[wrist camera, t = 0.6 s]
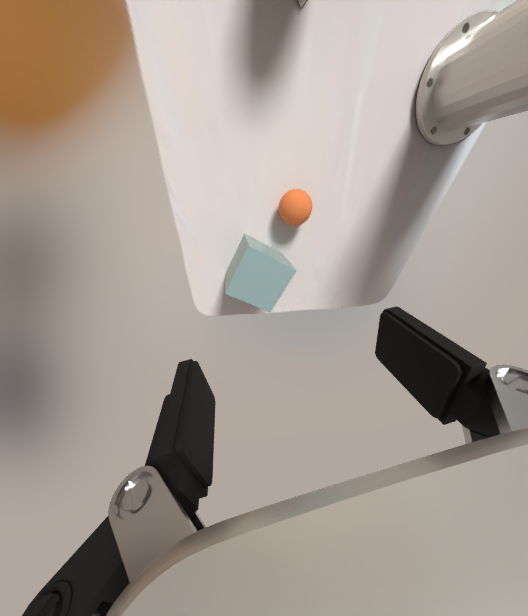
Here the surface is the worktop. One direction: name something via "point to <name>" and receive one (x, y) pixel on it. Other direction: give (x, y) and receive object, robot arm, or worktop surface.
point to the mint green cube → (258, 274)
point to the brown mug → (301, 2)
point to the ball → (295, 207)
